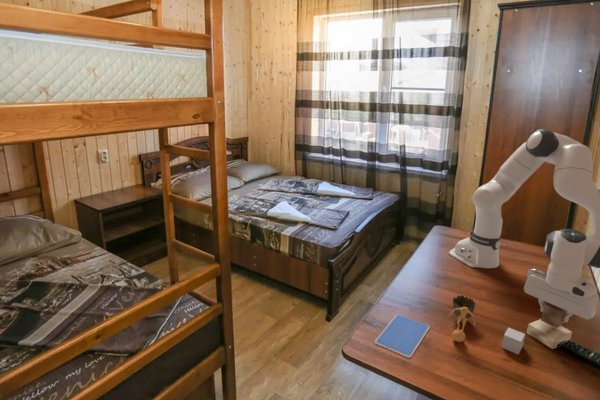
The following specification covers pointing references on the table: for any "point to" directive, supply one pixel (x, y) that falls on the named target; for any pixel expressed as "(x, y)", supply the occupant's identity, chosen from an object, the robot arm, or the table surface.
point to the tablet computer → (402, 335)
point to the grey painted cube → (513, 340)
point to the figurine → (459, 334)
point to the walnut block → (552, 315)
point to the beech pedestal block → (548, 333)
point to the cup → (463, 305)
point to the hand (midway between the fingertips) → (553, 316)
